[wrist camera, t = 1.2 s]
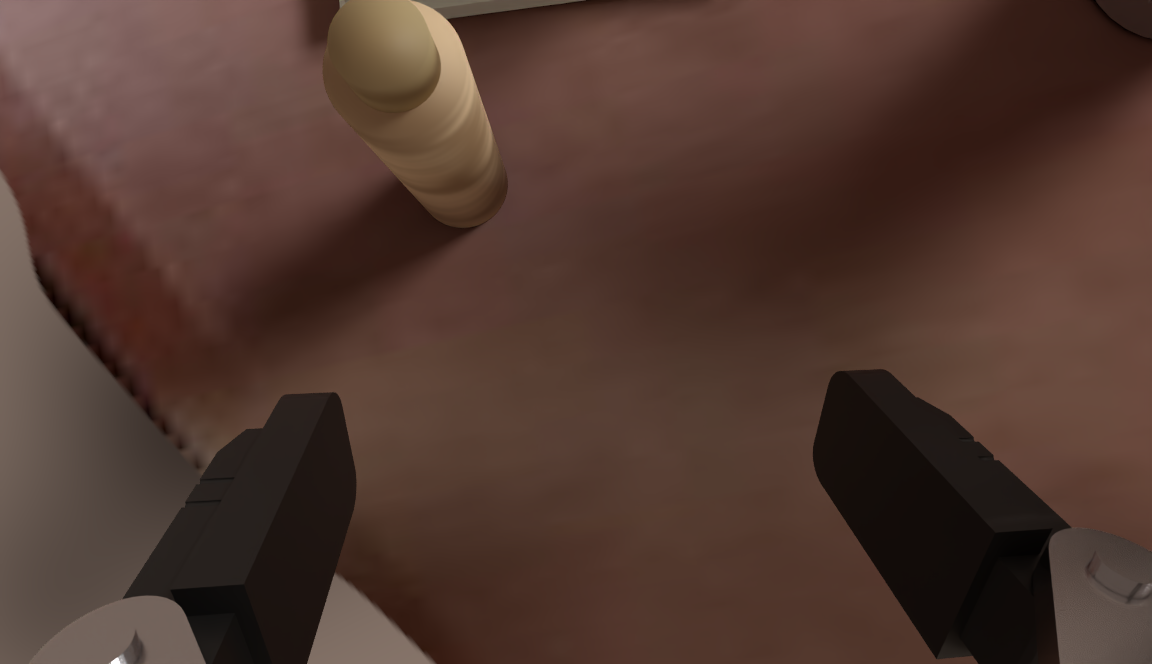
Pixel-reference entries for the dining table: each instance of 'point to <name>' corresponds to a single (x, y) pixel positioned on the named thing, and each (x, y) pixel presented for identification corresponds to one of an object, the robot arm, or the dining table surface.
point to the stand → (479, 6)
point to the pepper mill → (416, 106)
